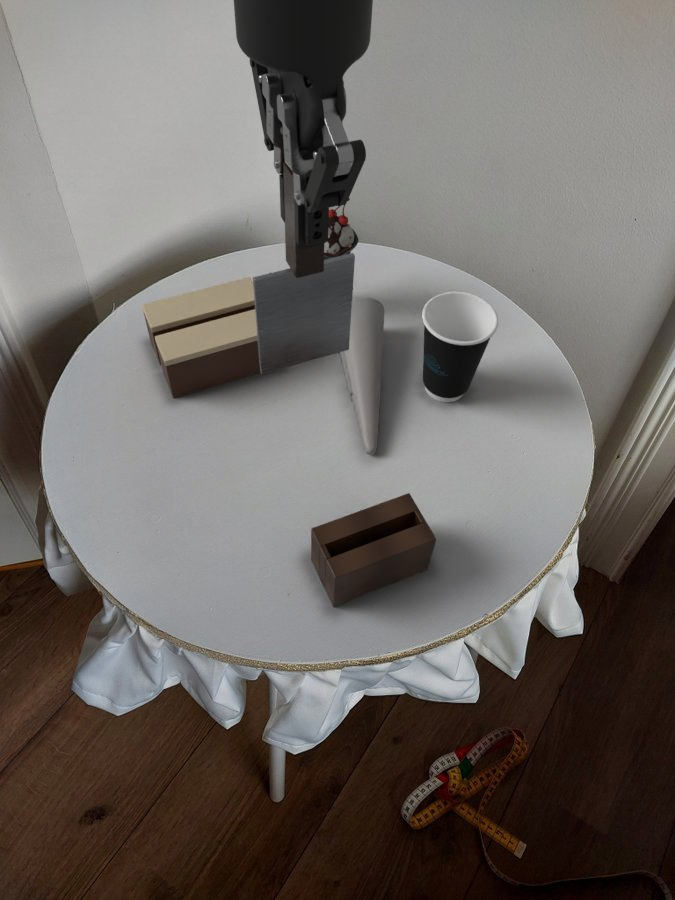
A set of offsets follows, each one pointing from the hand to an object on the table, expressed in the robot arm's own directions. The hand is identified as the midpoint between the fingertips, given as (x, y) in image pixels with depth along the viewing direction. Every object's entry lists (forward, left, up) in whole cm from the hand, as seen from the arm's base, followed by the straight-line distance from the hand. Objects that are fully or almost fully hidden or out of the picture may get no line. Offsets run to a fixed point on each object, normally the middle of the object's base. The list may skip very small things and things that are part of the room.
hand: (304, 231), depth 51 cm
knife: (0, 0, -13) cm, 13 cm away
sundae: (+13, +24, -31) cm, 41 cm away
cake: (-3, +21, -31) cm, 37 cm away
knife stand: (+2, -12, -31) cm, 33 cm away
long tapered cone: (+12, +9, -31) cm, 34 cm away
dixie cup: (+20, +6, -31) cm, 37 cm away
